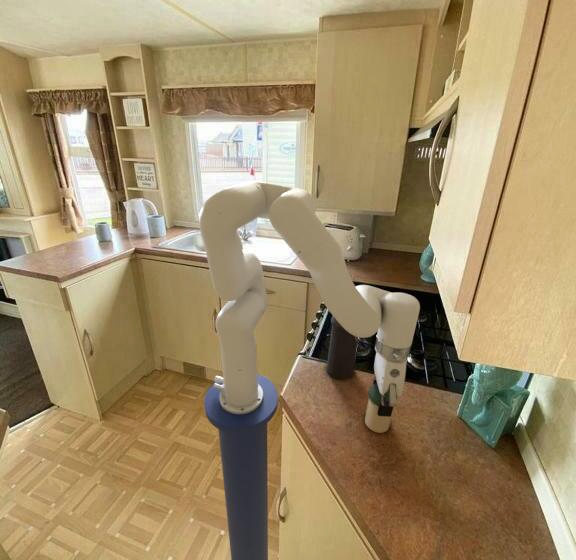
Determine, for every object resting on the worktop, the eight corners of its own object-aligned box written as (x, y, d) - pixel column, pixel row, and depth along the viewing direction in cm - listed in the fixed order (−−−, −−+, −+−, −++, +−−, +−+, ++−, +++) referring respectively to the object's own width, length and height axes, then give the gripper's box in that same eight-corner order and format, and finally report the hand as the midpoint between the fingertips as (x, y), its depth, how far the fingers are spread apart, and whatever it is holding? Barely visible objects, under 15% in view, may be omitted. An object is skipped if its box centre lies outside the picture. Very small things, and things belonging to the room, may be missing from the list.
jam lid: (387, 412, 73) (388, 408, 73) (363, 396, 78) (363, 392, 77) (401, 398, 78) (402, 393, 77) (377, 383, 82) (378, 379, 81)
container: (359, 378, 96) (367, 323, 88) (331, 382, 94) (337, 326, 86) (347, 360, 104) (354, 307, 95) (322, 363, 102) (326, 310, 93)
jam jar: (364, 429, 80) (369, 402, 76) (365, 410, 85) (369, 384, 81) (389, 435, 78) (395, 408, 74) (389, 416, 84) (394, 390, 80)
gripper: (421, 372, 63) (405, 434, 71) (399, 325, 79) (388, 379, 86) (384, 370, 63) (371, 431, 71) (369, 323, 79) (360, 378, 87)
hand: (380, 402), depth 79 cm, fingers closed on jam lid, 6 cm apart
